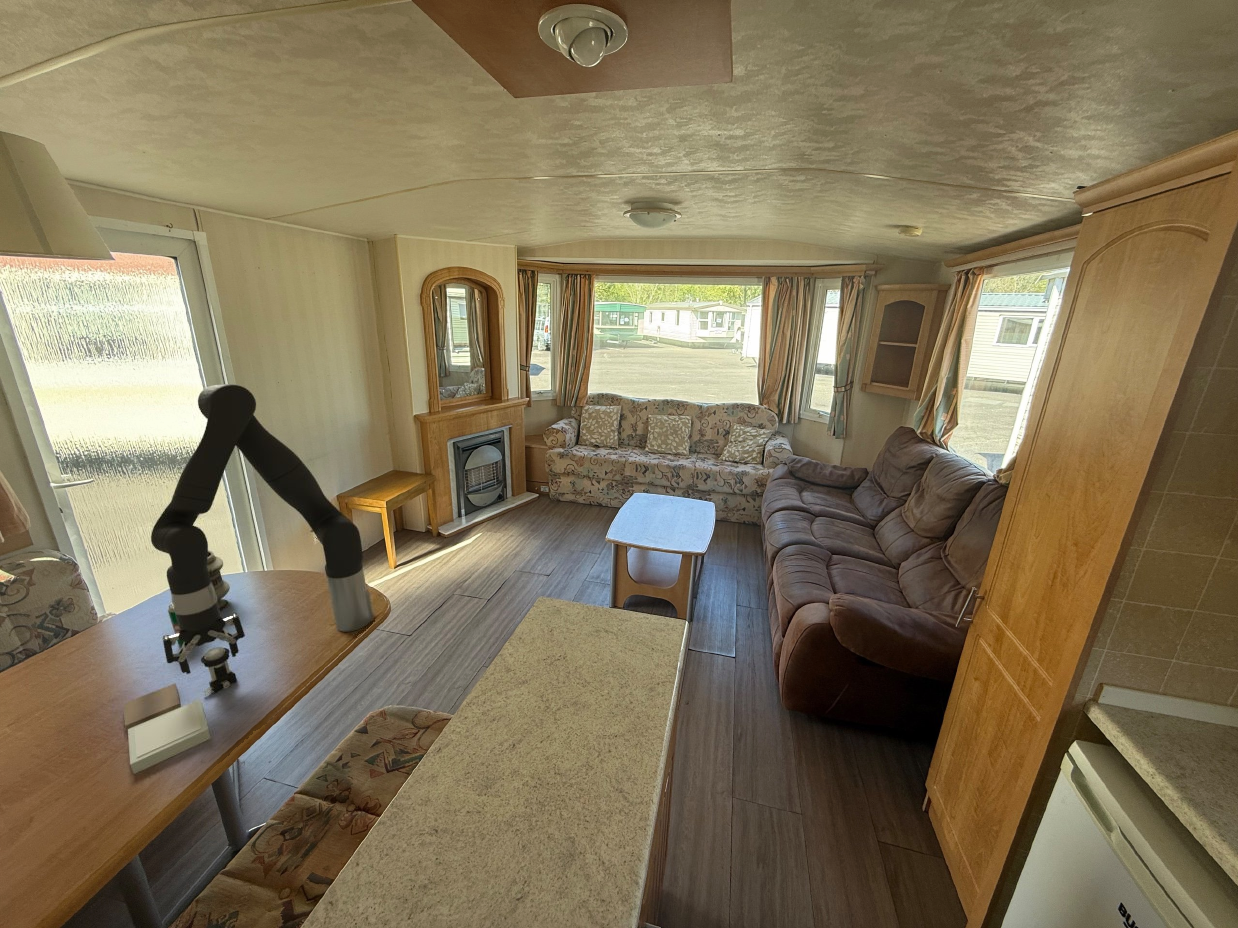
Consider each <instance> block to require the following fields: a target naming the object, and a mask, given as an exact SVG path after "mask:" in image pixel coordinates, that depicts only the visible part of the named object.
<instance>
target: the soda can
mask: <svg viewBox="0 0 1238 928" xmlns="http://www.w3.org/2000/svg"><path fill="white" fill-rule="evenodd" d="M167 613H168V616H169V619H170V623H171V625H172V629H173V632H174V635H175V634H178V633H179V631H180V629H179V626H178V622H177V618H176V615H175V611H174V610H173V604H172V603H170V604H169V606H168V609H167ZM176 643H177V644H178V645H179V646H181V647H182V645H183V643H184V641H182V640H180V639H178V640H177V641H176Z"/></svg>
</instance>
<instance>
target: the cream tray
mask: <svg viewBox="0 0 1238 928" xmlns="http://www.w3.org/2000/svg"><path fill="white" fill-rule="evenodd" d="M208 726H209V725H208V722H207V719H206V714H205V710H204V706H203V703H202V699H201V698H199V699H198V700H195V701H192V702H190V703H188V704H185V705H183V706H181V707H180V708H178V709H175V710H173V711H171V712H168V713H166V714H163V715H161V716H159V717H156V718H154V719H151V720H149V721H147V722H144V723H142V724H139V725H137V726H135V727H132V728H130V729H128V733H127V735H128V736H127V737H128V751H129V764H130V767H131V770H132V773H133V774H134V775H135V774H137V773H140V772H142V771H143V770H147V769H148V768H150V767H153V766H154V765H157V764H159V763H161V762H163V761H165V760H167V759H169V758H172V757H174V756H176V755H178V754H180V753H182V752H184V751H187V750H189V749H191V748H193V747H195V746H198V745H200V744H202V743H203V742H205V741H209V740H211V739H212V737H211V733H210V730H209V727H208Z"/></svg>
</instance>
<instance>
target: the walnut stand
mask: <svg viewBox="0 0 1238 928" xmlns="http://www.w3.org/2000/svg"><path fill="white" fill-rule="evenodd" d="M180 707H182V704H181V699H180V695H179V691H178V688H177V684H176V683H172V684H170V685H167V686H163V687H162V688H160V689H157V690H155V691H152V692H149V693H146V694H144V695H142V696H139V697H137V698H135V699H134V698H133V699H131V700H129V701H126V702H123V715H124V717H123V718H124V719H123V721H124V727H125V730H126V733H127V734H128V729H130V728H132V727H135V726H137V725H139V724H142V723H144V722H147V721H149V720H151V719H154V718H156V717H159V716H161V715H163V714H166V713H168V712H171V711H173V710H175V709H178V708H180Z"/></svg>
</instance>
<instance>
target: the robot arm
mask: <svg viewBox="0 0 1238 928" xmlns="http://www.w3.org/2000/svg"><path fill="white" fill-rule="evenodd" d="M255 398H256V397H255V396H254V394H253V392H251V391H250V390H249V389H248V388H246V387H244V386H242V385H239V384H233V383H226V384H221V383H220V384H215V385H214V384H213V385H210V386H207V387H205V388H203V390H202V391H200V393H199V395H198V398H197V405H198V409H199V411H200V413H201V415H203V417H204V418H205V419H207V422H206V426H205V430H204V432H203V435H202V438H201V440H200V442H199V444H198V445H197V447H196V449H195V451H194V452H193V454H192V455H191V457H190V458H189V460H188V461H187V463H186V465H185V466H184V468H183V470H182V472H181V474H180V477H179V479H178V482H177V483H176V487H175V489H174V491H173V495H172V497H171V500H170V502H169V504H167V506H166V507H165V508H164V509H163V512H162V513H161V514H160V516H159V517H158V519H157V520H156V522H155V524H154V526H153V528H152V531H151V535H150V540H151V541H150V542H151V544H152V546H153V547H154V549H156V550H157V551H160V552H162V553H165V554H168V555H169V557H170V560H171V565H170V566H169V567H168V569H167V570H166V579H167V583H168V586H169V591H170V595H171V604H173V610H174V611H175V615H176V618H177V622H178V626H179V629H180V631H179V633H178V634H175V633H174V634H172V635H170V634H165V635H163V637H162V644H163V648H164V649H163V650H164V654H165V658H166V663H167V664H173V663H174V662H177V663H179V666H180V671H181V673H182V674H185V673H186V675H190V674H191V668H190V666H189V664H190V663H189V662H188V661H189V660H188V658H187V657H188V656H189V654H191V652H192V651H193V650H194V647H201V646H203V645H206V644H208V643H212V642H215V640H217V639H218V640H220V641H223V642H226V643H228V646H229V651H230V653H231V657H232V658H234V657H237V654H239V652H240V650H239V647H238V641H239V640H240V639H243V638H245V636H246V635H245V632H244V628H243V626H242V622H241V618H240V617H239V614H238V613H237V612H234V613H232V614H231V615H230V616H229V617H228V616H227V617H226V618H223V617H222V614H221V611H220V610H219V606H218V602H217V596H216V593H215V590H214V587H213V585H212V583H211V579H210V575H209V571H208V568H207V560H208V551H209V544H208V538H207V536H206V534H205V532H204V531H203V530H202V529H201V528H200V527H199V526H197V525H196V526H195V522H196V521H197V519H198V518H199V515H203V514H206V513H208V512H209V511H210V510H211V508H212V506H213V504H214V501H215V497H216V495H217V492H218V490H219V488H220V487H219V486H220V484H221V482H222V478H223V476H224V472H225V470H226V468H227V465H228V463H229V461H230V458H231V456H232V454H233V452H234V449H235V448H236V447H237V449H238V450H239V451H240V453H241V454H242V455H243V456H244V458H245V459H246V460H247V461H248V463H249V464H250V465H251V466H252V468H254V470H255V471H256V472H257V473H258V475H259V476H260V477H261V478H262V480H263V481H264V482H265V483H266V484H267V485H268V486H269V487H270V488H271V489H272V491H273V492H274V493H275V494H276V495H278V496H279V498H281V499H282V500H283V501H284V502H286V503H287V504H288V505H289V506H291V507H292V508H293V509H295V510H296V511H297V512H298V513H299V515H301V517H302V518H303V519H304V520H305V521H306V523H307V524H308V526H309V527H310V529H311V530H312V532H313V533H314V535H315V536H316V538H317V540H318V541H319V542H320V544H321V545H322V549H323V552H324V553H323V554H324V559H325V565H324V571H325V575H326V580H327V581H326V582H327V587H328V590H329V595H330V600H331V601H330V602H331V607H332V612H333V616H334V622H335V628H336V629H337V630H338V631H340V632H345V633H346V632H347V633H348V632H354V631H357V630H360V629H362V628H364V627H366V626H368V625H369V623H370V622H372V621H374V620H375V618H374V617H375V616H374V611H373V606H372V604H373V603H372V601H371V595H370V594H371V593H370V591H369V590H368V589H367V583H366V577H365V572H364V566H363V560H364V553H363V546H362V540H361V534H360V530H359V528H358V527H357V526H356V524H354V522H353V521H352V520H351V519H350V518H348V517H347V516H346V515H345V514H344V513H342V512H341V511H340V510H339V509H338V508H337V507H336V506H334V504H333V503H332V502H331V501H330V500H329V499H328V498H327V496H326V495H325V493H324V492H323V490H322V488H321V487H320V484H319V483H318V481H317V480H316V478H315V476H314V475H313V473H312V472H311V471H310V469H309V467H307V466H306V464H305V463H304V462H303V461H302V460H301V458H300V457H299V456H298V455H297V454H296V453H295V452H294V451H293V450H292V449H291V448H290V447H288V446H287V445H286V444H284V443H283V442H282V441H280V440H279V439H278V438H277V437H275V435H273V434H271V433H270V432H269V431H268V430H267V429H266V428H265V427H264V426H263V425H262V424H261V423H260V422H259V420H258V419H257V417H256V415H254V414H255V411H256V408H257V401H256V399H255ZM226 624H228V625H229V626H234V628H235V631H236V632H234V633H231V632H228V631H227V630H226V629H224V628H225V626H226ZM178 639H180V640H182V641H184V643H183V645H182V646H181V648H180V649H179V651H178V652H177V653H174V652H173V651H174V650H173V646H174V645H176V643H177V640H178Z"/></svg>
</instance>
